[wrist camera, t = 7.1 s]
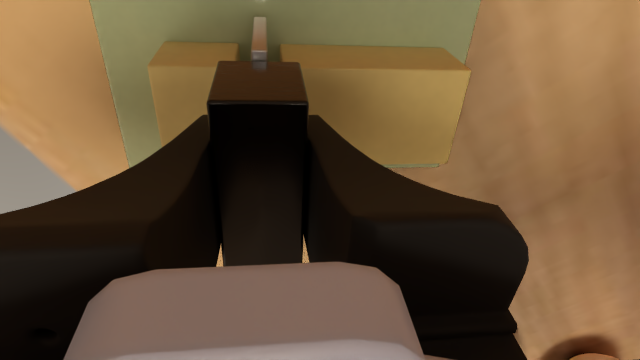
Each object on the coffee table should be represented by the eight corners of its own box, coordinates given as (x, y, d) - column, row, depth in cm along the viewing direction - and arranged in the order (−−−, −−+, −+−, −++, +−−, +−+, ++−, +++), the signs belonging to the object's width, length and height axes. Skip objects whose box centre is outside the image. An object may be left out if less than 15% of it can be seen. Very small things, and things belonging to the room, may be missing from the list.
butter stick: (425, 132, 17) (447, 164, 15) (279, 133, 16) (282, 166, 14) (444, 47, 15) (472, 70, 13) (279, 43, 14) (282, 67, 12)
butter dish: (431, 156, 19) (439, 167, 18) (136, 159, 17) (129, 172, 17) (471, -9, 15) (483, -3, 14) (94, -25, 13) (83, -20, 13)
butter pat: (243, 133, 16) (240, 167, 14) (177, 133, 16) (164, 168, 14) (238, 42, 14) (235, 66, 12) (163, 40, 14) (145, 64, 12)
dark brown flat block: (289, 166, 16) (301, 284, 11) (237, 167, 16) (225, 288, 11) (292, 17, 13) (310, 89, 8) (227, 15, 13) (203, 88, 8)
